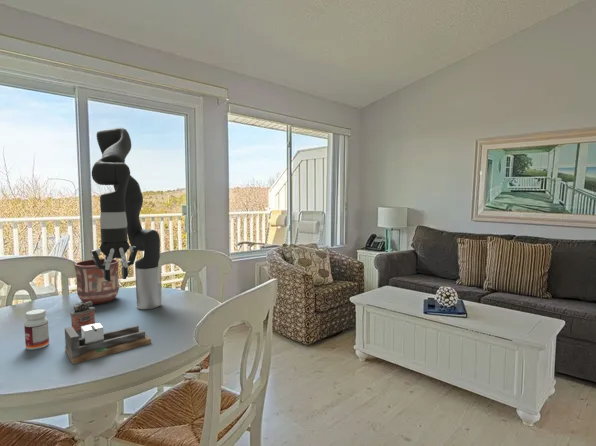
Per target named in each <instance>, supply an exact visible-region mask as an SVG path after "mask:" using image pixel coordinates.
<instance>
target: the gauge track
mask: <svg viewBox="0 0 596 446" xmlns="http://www.w3.org/2000/svg"><path fill="white" fill-rule="evenodd" d="M103 334H104V341H100V342H96V343H92V344H88V345H84V346H82V337H81V338H80V334H77V333H76V331H75V330H74V329H73V327H72V326H69V327H64V340H65V343H64V344H65V346H64V349H65V352H66V354H67V356H68V358H69V360H70V362H71V363H72V365H74V364H79V363H83V362H87V361H90V360H93V359H97V358H102V357H105V356H108V355H113V354H117V353H120V352H124V351H127V350H131V349H135V348H138V347H142V346H145V345H149V344H152V338H151V337H150V336H148V334H146V331H145V330H141V329H140V328H139V325H134V326H133V325H132V326H129V327H124V328H121V329H115V330H112V331H108V332H103Z"/></svg>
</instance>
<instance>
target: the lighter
mask: <svg viewBox="0 0 596 446" xmlns="http://www.w3.org/2000/svg"><path fill="white" fill-rule="evenodd" d="M73 309H74V311H71V312H70V313H69V314H70V317H71V320H70V321H71V327H73V329H74V330H75V331H76V333H77V334H78V335H80V334H82V333H81V326H86V325H91V324H95V323H96V319H95V318H96V317H95V310H96V307H95V306H93V305H92V302H91V301H90V302H86V303H84V302H80V303H78V304H77V305H73Z"/></svg>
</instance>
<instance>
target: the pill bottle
mask: <svg viewBox="0 0 596 446" xmlns="http://www.w3.org/2000/svg"><path fill="white" fill-rule="evenodd" d="M46 315H47V312H46V309H42V308H41V309H33V310H28V311H26V313H25V322H24V326H23V327H24V339H25V348H26V349H27V350H39V349H43V348H46V347H47V346H48V345H49V344H50V333H49V319H48V318H47V317H46Z"/></svg>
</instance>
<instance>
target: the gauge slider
mask: <svg viewBox="0 0 596 446" xmlns="http://www.w3.org/2000/svg"><path fill="white" fill-rule="evenodd" d="M103 333H104V326H103V325H102V324H101V323H100V322H97V323H96V322H95V324H91V325H86V326H81V333H80V334H81V338H82V346H84V345H88V344H92V343H96V342H100V341H104V334H103Z"/></svg>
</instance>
